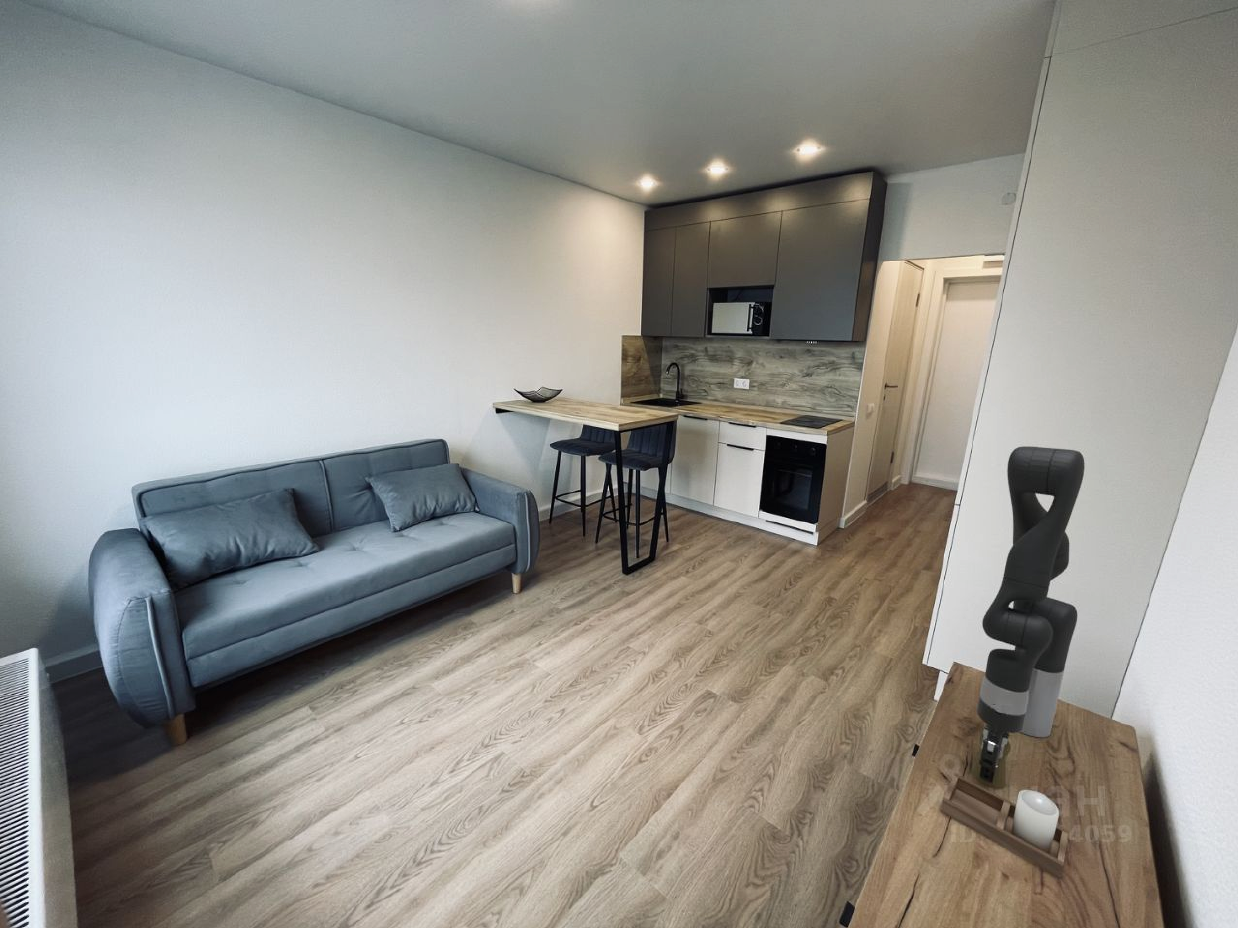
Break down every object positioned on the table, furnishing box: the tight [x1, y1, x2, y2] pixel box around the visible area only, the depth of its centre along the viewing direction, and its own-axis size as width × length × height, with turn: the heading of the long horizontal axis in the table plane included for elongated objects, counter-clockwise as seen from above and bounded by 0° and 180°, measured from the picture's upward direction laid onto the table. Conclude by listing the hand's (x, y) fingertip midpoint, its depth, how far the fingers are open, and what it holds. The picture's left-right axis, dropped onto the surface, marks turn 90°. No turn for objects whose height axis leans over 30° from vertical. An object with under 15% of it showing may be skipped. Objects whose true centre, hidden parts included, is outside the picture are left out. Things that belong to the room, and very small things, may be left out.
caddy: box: [940, 773, 1069, 880], centre depth 92 cm, size 9×18×4 cm, turn 44°
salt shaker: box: [1011, 789, 1060, 855], centre depth 88 cm, size 6×6×10 cm
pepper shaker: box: [971, 731, 1012, 790], centre depth 102 cm, size 6×6×11 cm
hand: (990, 768), depth 103 cm, fingers open, 7 cm apart
